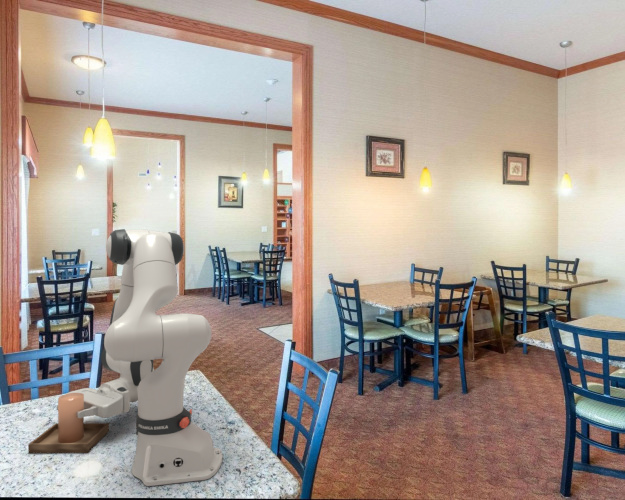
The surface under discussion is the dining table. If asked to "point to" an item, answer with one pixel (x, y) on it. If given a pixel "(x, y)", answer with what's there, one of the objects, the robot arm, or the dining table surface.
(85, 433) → the tray
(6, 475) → the dining table surface
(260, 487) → the dining table surface
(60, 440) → the peach cylinder
